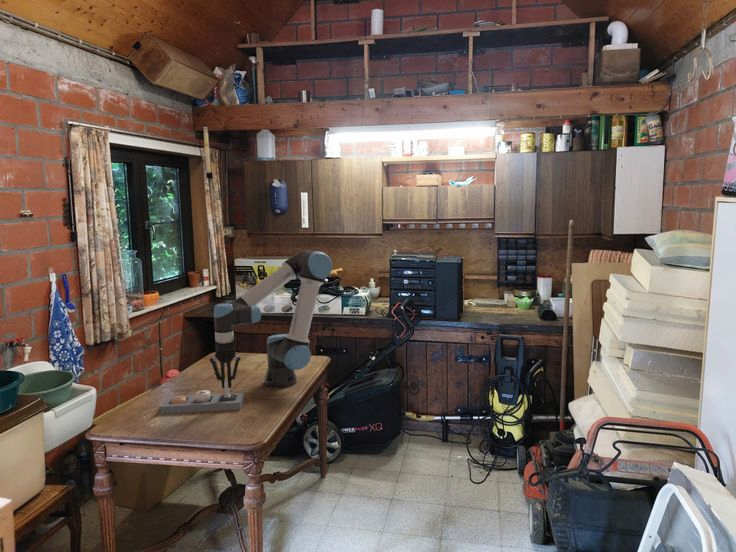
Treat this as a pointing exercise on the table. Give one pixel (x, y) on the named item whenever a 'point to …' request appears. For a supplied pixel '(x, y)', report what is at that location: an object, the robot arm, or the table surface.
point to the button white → (203, 396)
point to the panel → (202, 404)
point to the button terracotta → (178, 400)
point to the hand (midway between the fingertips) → (227, 395)
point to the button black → (227, 397)
